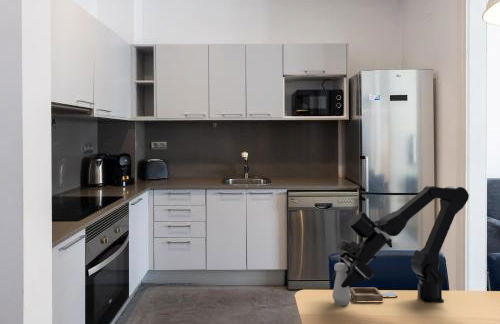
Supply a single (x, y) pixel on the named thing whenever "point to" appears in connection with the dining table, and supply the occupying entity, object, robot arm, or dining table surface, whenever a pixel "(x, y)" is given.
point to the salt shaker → (339, 293)
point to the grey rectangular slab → (389, 294)
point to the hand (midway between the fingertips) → (337, 282)
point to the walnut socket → (366, 294)
